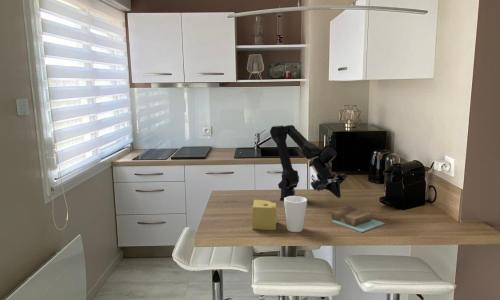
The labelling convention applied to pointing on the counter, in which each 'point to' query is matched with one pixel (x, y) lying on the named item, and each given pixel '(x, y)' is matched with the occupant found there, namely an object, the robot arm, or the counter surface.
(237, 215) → the counter surface
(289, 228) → the foam cup
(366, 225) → the mat
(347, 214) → the walnut block
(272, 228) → the cheese
